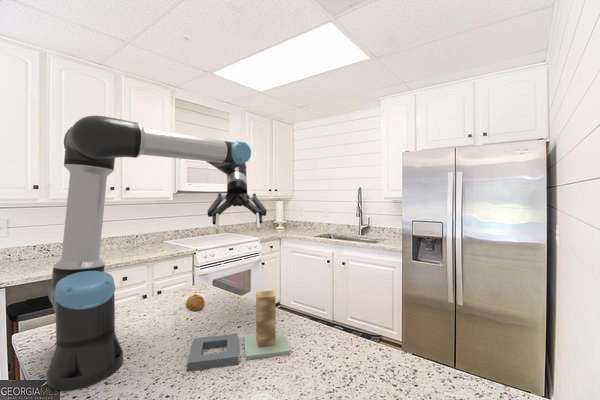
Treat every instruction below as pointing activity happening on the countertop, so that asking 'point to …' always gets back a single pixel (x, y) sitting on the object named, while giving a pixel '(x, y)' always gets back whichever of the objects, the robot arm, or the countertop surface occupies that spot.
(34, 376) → the countertop surface
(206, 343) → the pocket frame
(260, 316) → the oak peg
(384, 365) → the countertop surface
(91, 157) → the robot arm
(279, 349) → the rubber pad
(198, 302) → the pastry
